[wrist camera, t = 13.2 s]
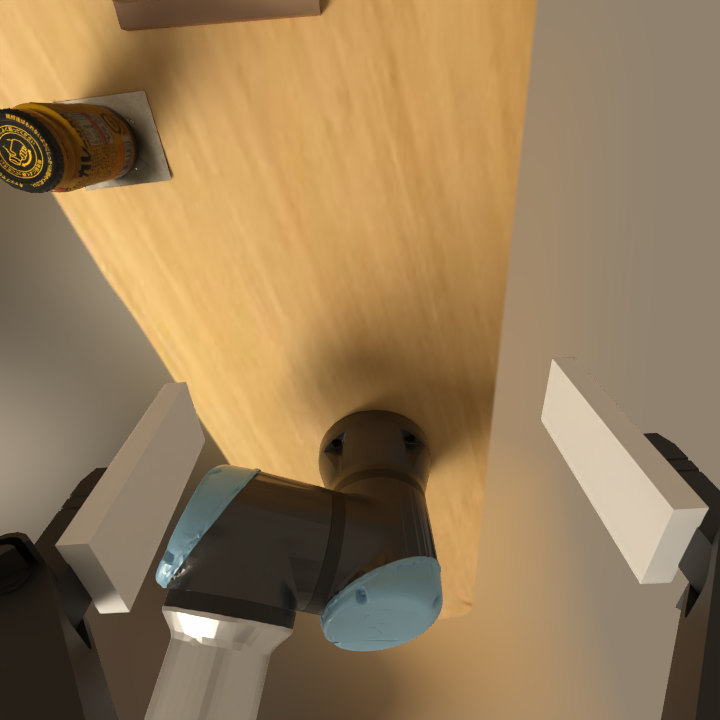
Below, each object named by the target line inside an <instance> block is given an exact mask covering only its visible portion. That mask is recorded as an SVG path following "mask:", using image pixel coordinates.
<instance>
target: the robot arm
mask: <svg viewBox="0 0 720 720" xmlns="http://www.w3.org/2000/svg"><path fill="white" fill-rule="evenodd" d="M541 421H542V422H543V424H544V426H545V427H546V429H547V431H548V432H549V434H550V436H551V437H552V439H553V440H554V442H555V444H556V445H557V447H558V449H559V450H560V452H561V454H562V455H563V457H564V459H565V460H566V462H567V464H568V465H569V467H570V469H571V470H572V472H573V473H574V475H575V477H576V478H577V480H578V482H579V483H580V485H581V486H582V488H583V490H584V492H585V493H586V495H587V497H588V498H589V500H590V501H591V503H592V505H593V506H594V508H595V510H596V511H597V513H598V514H599V516H600V518H601V519H602V521H603V523H604V524H605V526H606V528H607V529H608V531H609V533H610V534H611V536H612V538H613V539H614V541H615V543H616V544H617V546H618V547H619V549H620V551H621V553H622V554H623V556H624V557H625V559H626V561H627V562H628V564H629V566H630V567H631V569H632V571H633V572H634V574H635V576H636V577H637V578H638V581H639V582H640V584H649V583H667V582H671V581H672V580H673V578H674V576H675V574H676V572H677V570H678V568H680V570H681V571H682V572H683V574H684V575H685V577H686V578H687V579H688V581H689V583H688V585H687V587H686V589H685V591H684V592H683V594H682V596H681V598H680V600H679V602H678V603H677V605H676V608H678V609H680V610H681V614H680V619H679V625H678V630H677V636H676V641H675V646H674V652H673V657H672V663H671V668H670V674H669V680H668V684H667V690H666V695H665V701H664V706H663V712H662V717H661V720H720V491H719V490H718V488H717V487H716V486H715V485H714V484H713V483H712V482H711V481H710V480H709V479H708V478H707V477H706V476H705V475H704V474H703V473H702V472H699V469H698V468H697V467H696V466H695V465H694V464H693V462H692V461H689V460H688V457H687V456H686V455H685V454H684V453H683V452H682V451H681V450H680V449H679V448H678V447H677V446H676V445H675V444H674V443H672V442H670V441H669V440H667V439H665V438H664V437H662V436H661V435H659V434H658V433H648V434H643V433H642V432H641V431H640V430H639V429H638V428H637V427H636V426H635V425H634V423H633V422H632V421H631V420H630V419H629V418H628V417H627V416H626V414H624V412H623V411H622V410H621V409H620V408H619V407H618V405H617V404H616V403H615V402H614V401H613V400H612V399H611V398H610V397H609V395H608V394H607V393H606V392H605V391H604V390H603V389H602V388H601V386H599V384H598V383H597V382H596V381H595V380H594V379H593V378H592V376H591V375H590V374H589V373H588V372H587V371H586V370H585V369H584V367H583V366H582V365H581V364H580V363H579V362H578V361H577V360H576V359H575V357H567V358H553V359H552V363H551V369H550V375H549V379H548V385H547V390H546V395H545V401H544V407H543V412H542V417H541ZM204 442H205V439H204V436H203V433H202V429H201V427H200V423H199V420H198V417H197V414H196V411H195V408H194V405H193V402H192V399H191V396H190V393H189V390H188V387H187V384H186V382H182V383H167V384H164V386H163V387H162V389H161V390H160V392H159V394H158V395H157V396H156V398H155V399H154V401H153V402H152V404H151V405H150V407H149V408H148V409H147V411H146V413H145V414H144V415H143V417H142V418H141V420H140V421H139V423H138V424H137V426H136V427H135V429H134V430H133V432H132V433H131V434H130V436H129V438H128V439H127V440H126V442H125V443H124V445H123V446H122V448H121V449H120V451H119V452H118V454H117V455H116V457H115V458H114V460H113V461H112V462H111V464H110V465H109V467H108V468H96V469H95V470H94V471H93V472H91V473H90V474H89V475H88V476H86V477H85V478H84V479H83V480H82V481H80V483H79V484H78V486H77V487H76V488H75V490H74V491H73V492H72V494H71V495H70V499H67V501H66V502H65V503H64V505H63V506H62V508H61V511H59V512H58V513H57V514H56V516H55V517H54V519H53V520H52V521H51V523H50V524H49V525H48V527H47V528H46V530H45V531H44V532H43V534H42V535H41V536H40V538H39V539H38V541H37V542H36V543H35V545H34V544H33V543H32V542H31V540H30V539H29V537H28V536H27V535H26V534H23V533H19V532H16V533H9V534H5V535H2V536H0V720H118V717H117V714H116V711H115V707H114V704H113V701H112V697H111V694H110V691H109V688H108V685H107V681H106V678H105V675H104V672H103V668H102V665H101V662H100V658H99V655H98V652H97V649H96V646H95V642H94V639H93V636H92V633H91V629H90V626H89V622H88V621H87V619H86V618H85V617H84V614H85V612H86V611H87V609H88V607H89V605H90V603H91V601H93V603H94V605H95V606H96V608H97V609H98V611H99V612H100V613H116V612H130V609H131V607H132V605H133V603H134V600H135V598H136V596H137V594H138V591H139V589H140V587H141V585H142V582H143V580H144V578H145V575H146V573H147V571H148V569H149V567H150V564H151V562H152V559H153V557H154V555H155V553H156V551H157V548H158V546H159V544H160V542H161V539H162V537H163V535H164V533H165V530H166V528H167V526H168V524H169V521H170V519H171V517H172V514H173V512H174V510H175V508H176V505H177V503H178V501H179V499H180V496H181V494H182V492H183V489H184V487H185V485H186V483H187V481H188V478H189V476H190V474H191V472H192V469H193V467H194V465H195V463H196V460H197V458H198V456H199V453H200V451H201V449H202V447H203V444H204ZM430 467H431V454H430V449H429V445H428V441H427V438H426V436H425V434H424V433H423V431H422V430H421V429H420V428H419V427H418V426H417V425H416V424H415V423H414V422H412V421H411V420H409V419H408V418H406V417H404V416H401V415H399V414H396V413H392V412H387V411H365V412H360V413H356V414H353V415H350V416H348V417H346V418H344V419H342V420H340V421H339V422H337V423H336V424H335V425H333V426H332V427H331V428H330V429H329V430H328V432H327V433H326V434H325V436H324V438H323V440H322V442H321V445H320V452H319V470H320V474H321V477H322V480H323V483H324V486H325V488H323V487H319V486H315V485H311V484H307V483H304V482H300V481H296V480H292V479H288V478H284V477H280V476H276V475H272V474H268V473H264V472H261V470H260V469H254V470H252V469H247V468H242V467H237V466H232V465H220V466H217V467H215V468H213V469H212V470H210V471H209V472H208V473H207V474H206V476H205V477H204V478H203V480H202V481H201V483H200V484H199V486H198V487H197V489H196V491H195V492H194V494H193V496H192V498H191V500H190V501H189V503H188V505H187V507H186V509H185V511H184V513H183V515H182V516H181V518H180V520H179V523H178V524H177V526H176V528H175V530H174V533H173V535H172V537H171V539H170V541H169V544H168V547H167V550H166V551H165V554H164V557H163V559H162V560H161V562H160V564H159V567H158V570H157V574H156V580H157V582H158V583H159V584H160V585H161V586H162V587H163V588H168V586H170V588H169V591H168V594H167V597H166V600H165V602H164V605H163V608H162V612H163V614H164V616H165V618H166V621H167V623H168V625H169V627H170V630H171V636H172V638H171V641H170V644H169V647H168V650H167V653H166V656H165V659H164V662H163V665H162V668H161V671H160V674H159V677H158V680H157V683H156V686H155V689H154V692H153V695H152V698H151V701H150V704H149V707H148V710H147V713H146V716H145V719H144V720H256V716H257V712H258V708H259V703H260V698H261V694H262V689H263V685H264V680H265V676H266V671H267V667H268V662H269V658H270V654H271V653H272V651H273V650H274V648H276V647H277V646H278V645H279V644H280V643H281V642H283V641H284V640H285V639H286V638H287V637H289V636H290V635H291V634H292V631H293V626H294V621H295V616H296V612H297V611H301V612H306V613H312V614H316V615H321V627H322V628H323V632H324V635H325V637H326V638H327V639H328V640H329V641H330V642H333V643H334V644H335V645H336V646H338V647H340V648H343V649H347V650H353V651H375V650H381V649H387V648H391V647H395V646H398V645H400V644H403V643H406V642H408V641H410V640H412V639H414V638H416V637H417V636H419V635H421V634H422V633H424V632H425V631H426V630H427V629H428V628H429V627H430V626H432V624H433V623H434V622H435V621H436V619H437V618H438V616H439V614H440V611H441V608H442V602H443V596H442V586H441V576H440V572H441V567H440V564H439V563H438V560H437V555H436V550H435V545H434V540H433V534H432V529H431V524H430V519H429V514H428V509H427V504H426V499H425V491H426V486H427V482H428V477H429V472H430Z"/></svg>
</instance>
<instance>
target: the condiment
mask: <svg viewBox="0 0 720 720" xmlns="http://www.w3.org/2000/svg"><path fill="white" fill-rule="evenodd" d="M126 117H127V118H128V119H129V121H128V120H126ZM130 120H132V121H134V124H133V123H131V122H130ZM135 168H137V170H136V169H135ZM0 178H1V179H2V180H4V181H5V182H6V183H8V184H9V185H11V186H12V187H14V188H17V189H20V190H23V191H26V192H30V193H43V192H48V191H51V192H70V191H74V190H76V189H80V188H83V187H85V188H86V190H94V189H102V188H110V187H118V186H126V185H134V184H142V183H150V182H158V181H166V180H171V176H170V173H169V169H168V165H167V162H166V159H165V156H164V152H163V148H162V145H161V142H160V139H159V136H158V132H157V128H156V126H155V123H154V120H153V117H152V113H151V110H150V107H149V104H148V101H147V98H146V95H145V91H136V92H129V93H121V94H114V95H107V96H100V97H92V98H85V99H78V100H70V101H63V102H55V103H34V102H30V103H25V104H20V105H17V106H15V107H14V108H13V109H10V108H8V109H3V110H2V109H0Z"/></svg>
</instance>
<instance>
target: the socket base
mask: <svg viewBox="0 0 720 720" xmlns="http://www.w3.org/2000/svg"><path fill="white" fill-rule="evenodd" d="M113 2H114V6H115V9H116V13H117V17H118V20H119V24H120V27H121V29H123V30H126V31H133V30H145V29H158V28H170V27H182V26H195V25H207V24H219V23H232V22H244V21H256V20H268V19H281V18H293V17H305V16H318V15H321V11H320V0H113Z"/></svg>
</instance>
